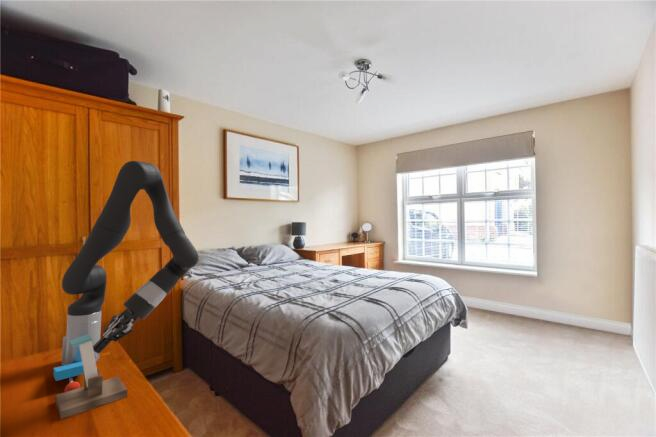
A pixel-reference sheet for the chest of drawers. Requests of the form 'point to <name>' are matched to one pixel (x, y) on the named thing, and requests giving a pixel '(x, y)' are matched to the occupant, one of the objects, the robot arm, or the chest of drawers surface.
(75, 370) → the lever
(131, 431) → the chest of drawers surface
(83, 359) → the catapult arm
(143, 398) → the chest of drawers surface
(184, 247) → the robot arm
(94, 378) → the catapult stand
